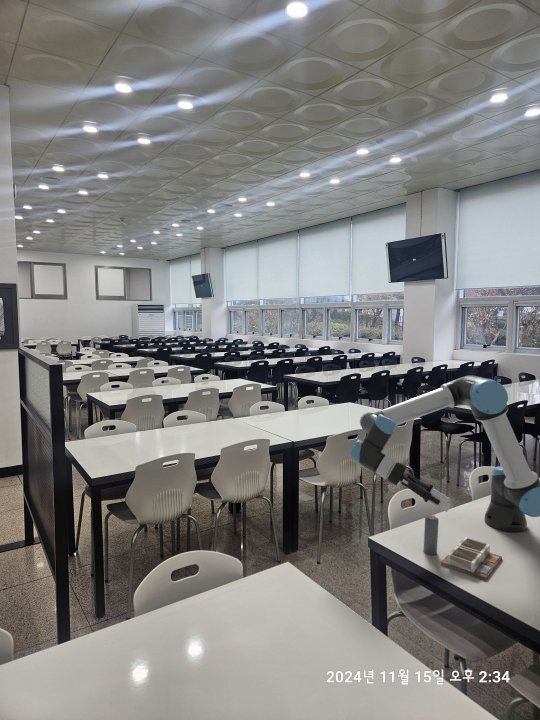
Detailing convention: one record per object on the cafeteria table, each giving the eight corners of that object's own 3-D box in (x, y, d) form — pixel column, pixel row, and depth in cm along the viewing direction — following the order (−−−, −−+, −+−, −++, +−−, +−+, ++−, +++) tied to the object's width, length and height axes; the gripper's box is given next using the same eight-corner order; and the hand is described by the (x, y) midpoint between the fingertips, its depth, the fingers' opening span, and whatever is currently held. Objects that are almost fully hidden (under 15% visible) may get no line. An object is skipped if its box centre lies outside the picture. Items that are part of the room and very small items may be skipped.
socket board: (459, 545, 168) (460, 534, 167) (501, 559, 159) (502, 547, 158) (440, 564, 154) (441, 553, 154) (485, 580, 145) (486, 568, 145)
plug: (426, 547, 166) (428, 512, 165) (438, 551, 163) (440, 516, 162) (421, 552, 162) (423, 516, 161) (433, 556, 160) (435, 520, 158)
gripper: (389, 476, 177) (442, 508, 170) (382, 484, 154) (443, 521, 147) (399, 458, 177) (452, 490, 169) (393, 464, 154) (455, 501, 146)
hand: (448, 505), depth 158 cm, fingers open, 13 cm apart
